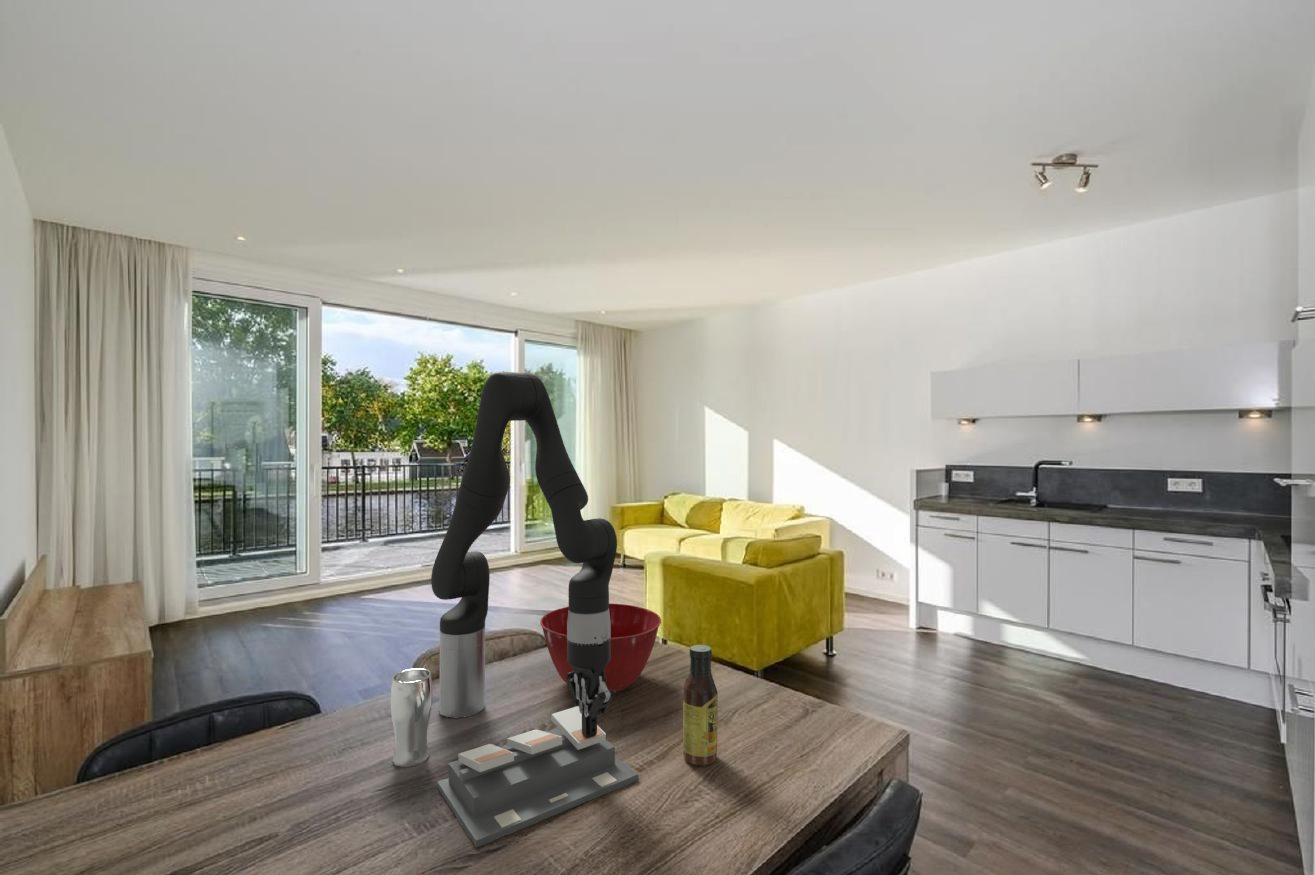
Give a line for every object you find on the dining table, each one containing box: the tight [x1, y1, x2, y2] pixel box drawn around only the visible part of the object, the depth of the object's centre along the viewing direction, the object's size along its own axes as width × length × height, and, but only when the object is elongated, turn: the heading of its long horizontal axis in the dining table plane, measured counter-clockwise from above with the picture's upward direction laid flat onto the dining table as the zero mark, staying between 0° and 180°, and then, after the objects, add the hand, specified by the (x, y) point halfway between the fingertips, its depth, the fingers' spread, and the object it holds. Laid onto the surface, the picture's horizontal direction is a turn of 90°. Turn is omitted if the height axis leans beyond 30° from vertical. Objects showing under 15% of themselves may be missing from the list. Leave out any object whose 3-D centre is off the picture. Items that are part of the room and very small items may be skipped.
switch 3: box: [550, 706, 607, 750], centre depth 106 cm, size 10×6×1 cm, turn 37°
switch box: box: [436, 727, 639, 848], centre depth 99 cm, size 18×28×5 cm, turn 127°
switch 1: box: [457, 743, 514, 772], centre depth 96 cm, size 10×6×1 cm, turn 37°
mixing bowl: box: [539, 602, 662, 694], centre depth 141 cm, size 28×28×16 cm
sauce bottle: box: [682, 644, 719, 767], centre depth 108 cm, size 7×6×20 cm
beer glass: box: [390, 667, 433, 768], centre depth 107 cm, size 7×7×15 cm
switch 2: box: [506, 729, 562, 755], centre depth 101 cm, size 10×6×1 cm, turn 37°
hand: (589, 735), depth 103 cm, fingers closed
